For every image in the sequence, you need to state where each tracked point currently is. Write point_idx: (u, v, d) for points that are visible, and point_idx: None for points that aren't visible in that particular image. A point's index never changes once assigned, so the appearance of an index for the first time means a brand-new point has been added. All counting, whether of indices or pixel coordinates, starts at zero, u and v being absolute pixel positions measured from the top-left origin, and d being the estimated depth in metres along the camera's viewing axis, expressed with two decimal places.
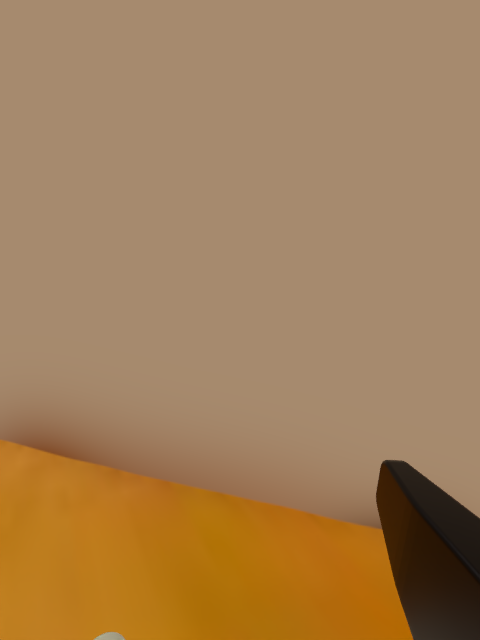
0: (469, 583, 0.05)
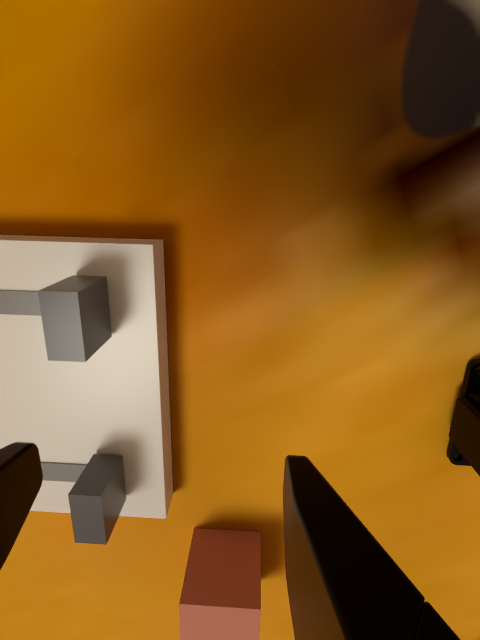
0: (316, 574, 0.05)
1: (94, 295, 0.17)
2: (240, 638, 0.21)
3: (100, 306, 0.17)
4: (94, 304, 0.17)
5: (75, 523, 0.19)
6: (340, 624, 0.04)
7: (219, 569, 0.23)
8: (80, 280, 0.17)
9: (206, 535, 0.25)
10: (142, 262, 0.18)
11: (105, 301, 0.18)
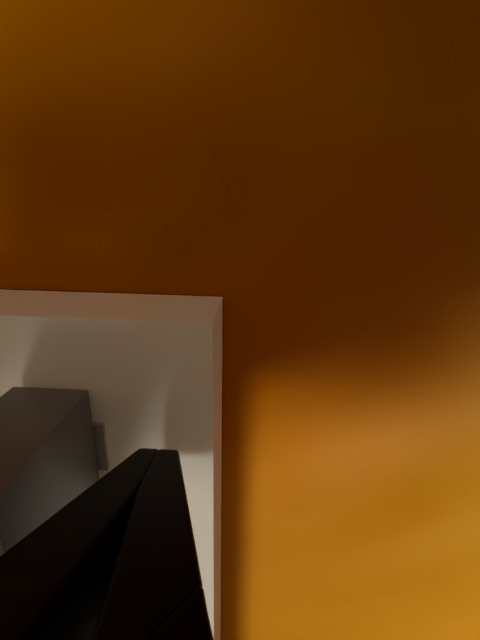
0: None
1: (54, 458, 0.07)
2: None
3: (72, 469, 0.07)
4: (54, 480, 0.07)
5: None
6: (105, 609, 0.04)
7: None
8: (22, 415, 0.07)
9: None
10: (187, 360, 0.08)
11: (86, 447, 0.08)
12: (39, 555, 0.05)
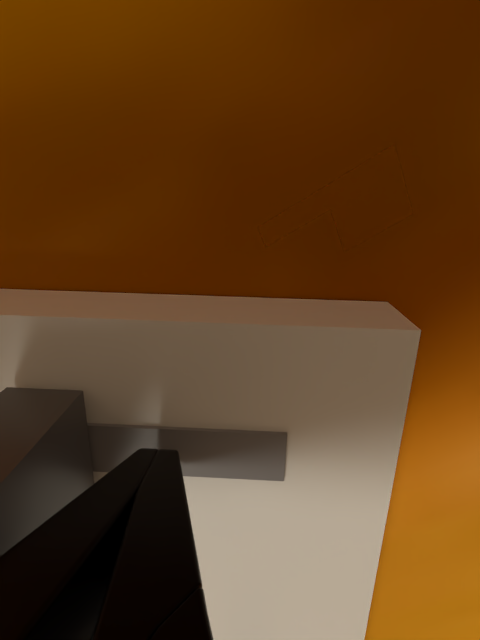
0: None
1: (48, 460, 0.07)
2: None
3: (67, 471, 0.07)
4: (48, 482, 0.07)
5: None
6: (104, 608, 0.04)
7: None
8: (16, 416, 0.07)
9: None
10: (386, 368, 0.08)
11: (80, 448, 0.08)
12: (39, 555, 0.05)
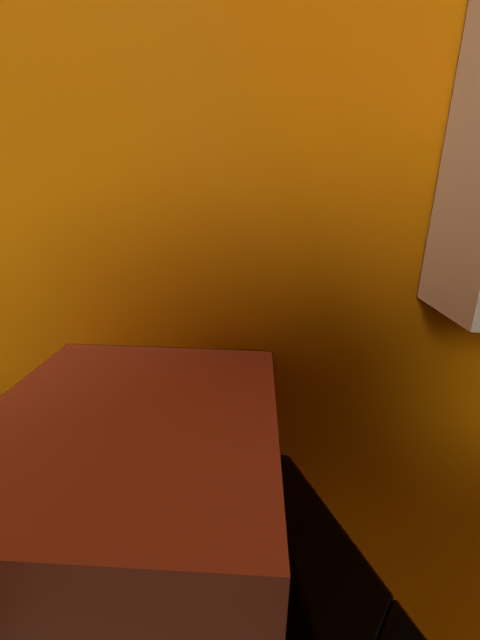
0: None
1: None
2: None
3: None
4: None
5: None
6: (307, 622, 0.04)
7: None
8: None
9: None
10: None
11: None
12: None
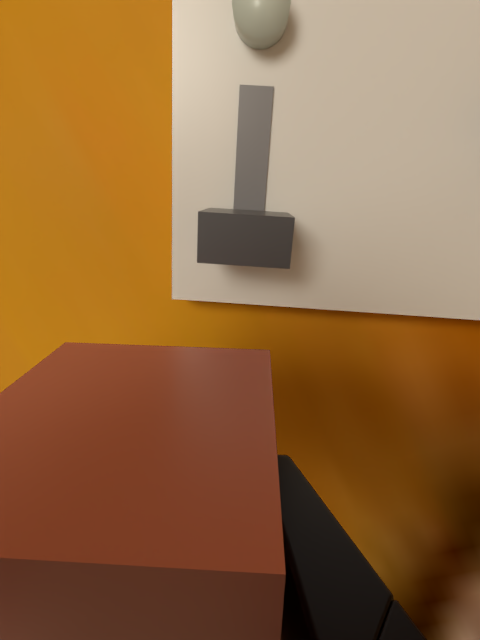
0: (288, 572, 0.05)
1: None
2: None
3: None
4: None
5: (236, 219, 0.12)
6: (307, 622, 0.04)
7: None
8: None
9: None
10: None
11: None
12: None
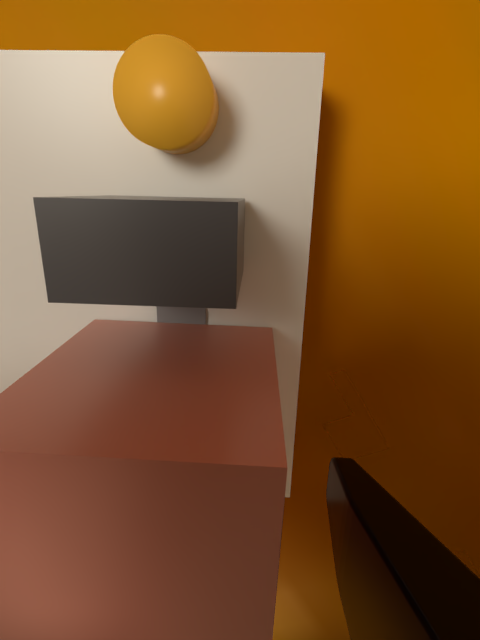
0: (387, 578, 0.05)
1: None
2: None
3: None
4: None
5: None
6: (425, 630, 0.04)
7: None
8: (242, 242, 0.08)
9: None
10: None
11: None
12: None
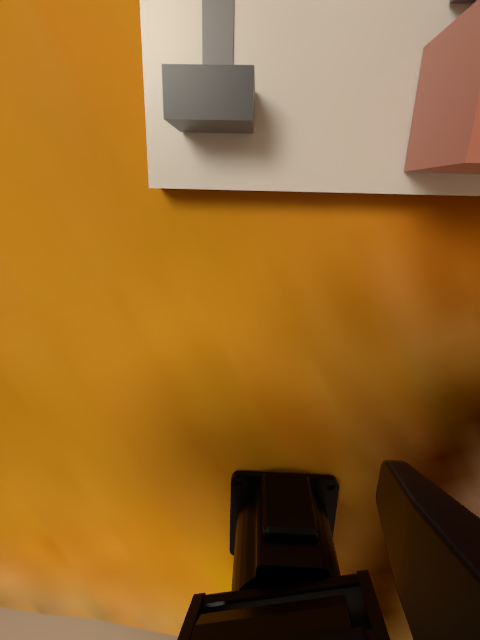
0: (469, 583, 0.05)
1: None
2: None
3: None
4: None
5: (198, 70, 0.12)
6: None
7: None
8: None
9: None
10: None
11: None
12: None
